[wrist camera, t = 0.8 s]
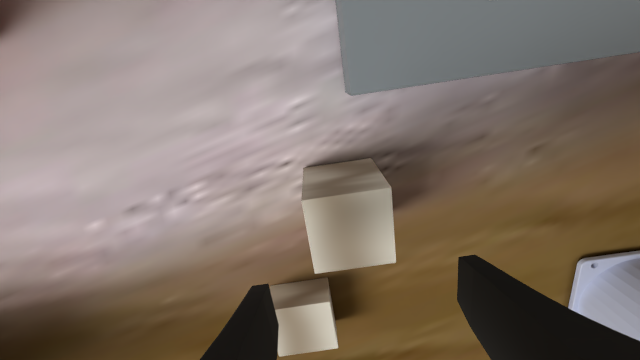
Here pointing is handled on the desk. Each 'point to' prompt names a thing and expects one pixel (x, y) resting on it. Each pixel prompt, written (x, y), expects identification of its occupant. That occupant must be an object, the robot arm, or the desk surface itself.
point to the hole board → (475, 38)
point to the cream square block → (348, 215)
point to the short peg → (304, 317)
